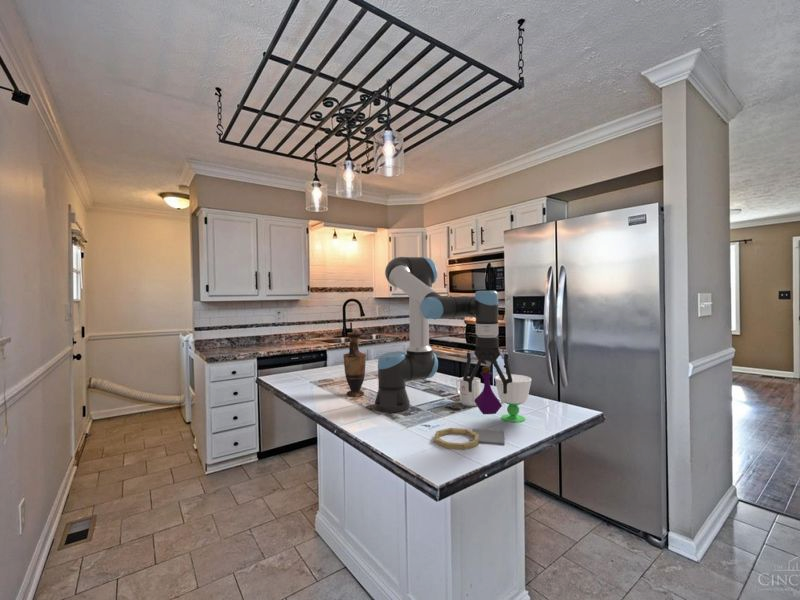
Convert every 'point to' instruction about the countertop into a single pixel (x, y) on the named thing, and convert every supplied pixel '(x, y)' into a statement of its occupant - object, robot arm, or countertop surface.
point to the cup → (514, 395)
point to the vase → (354, 366)
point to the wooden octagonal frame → (456, 445)
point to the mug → (464, 391)
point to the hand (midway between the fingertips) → (487, 402)
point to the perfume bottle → (487, 394)
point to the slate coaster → (489, 436)
